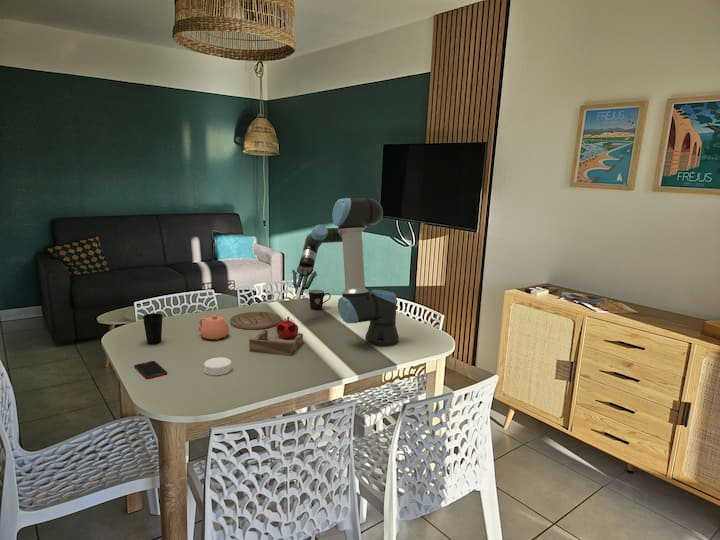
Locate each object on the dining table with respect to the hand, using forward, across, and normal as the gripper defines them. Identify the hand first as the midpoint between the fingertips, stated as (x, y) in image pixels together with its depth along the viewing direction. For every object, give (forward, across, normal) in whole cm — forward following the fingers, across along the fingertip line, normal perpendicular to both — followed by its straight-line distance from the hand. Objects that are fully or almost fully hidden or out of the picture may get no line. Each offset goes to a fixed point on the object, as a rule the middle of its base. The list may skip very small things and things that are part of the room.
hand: (297, 300), depth 230 cm
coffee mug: (-13, -2, -32) cm, 35 cm away
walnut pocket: (+29, 0, +10) cm, 31 cm away
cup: (+36, +52, +17) cm, 66 cm away
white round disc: (+50, +12, +31) cm, 61 cm away
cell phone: (+55, +36, +36) cm, 75 cm away
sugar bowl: (+27, +32, +8) cm, 42 cm away
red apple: (+20, 0, +1) cm, 20 cm away
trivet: (+9, +22, -10) cm, 26 cm away
